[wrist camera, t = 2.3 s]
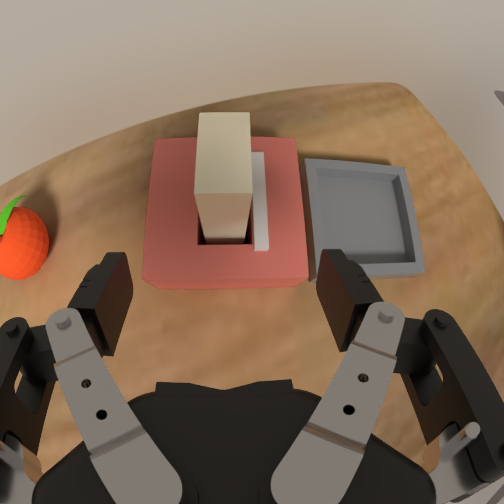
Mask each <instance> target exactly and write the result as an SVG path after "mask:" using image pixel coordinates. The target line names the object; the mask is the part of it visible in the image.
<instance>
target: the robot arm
mask: <svg viewBox="0 0 504 504" xmlns="http://www.w3.org/2000/svg"><path fill="white" fill-rule="evenodd" d="M316 290H317V295H318V297H319V300H320V302H321V305H322V308H323V310H324V313H325V315H326V318H327V320H328V323H329V325H330V328H331V331H332V333H333V336H334V338H335V341H336V344H337V346H338V349H339V352H344V351H347V352H346V354H345V356H344V358H343V360H342V362H341V364H340V366H339V368H338V369H337V371H336V373H335V375H334V377H333V379H332V381H331V383H330V384H329V386H328V388H327V390H326V392H325V394H324V395H323V397H320V396H318V395H316V394H313V393H311V392H308V391H304V390H300V389H293V384H292V380H291V379H287V380H275V381H259V382H255V383H251V384H247V385H244V386H240V387H236V388H232V389H227V390H219V389H214V388H209V387H205V386H200V385H196V384H191V383H171V382H156V389H155V392H150V393H146V394H143V395H141V396H138V397H136V398H134V399H132V400H130V401H129V402H126V400H125V399H124V397H123V395H122V394H121V392H120V390H119V389H118V387H117V385H116V384H115V382H114V380H113V378H112V376H111V375H110V373H109V371H108V369H107V367H106V366H105V364H104V362H103V360H102V357H103V356H114V352H115V349H116V346H117V342H118V339H119V336H120V333H121V330H122V327H123V324H124V321H125V318H126V315H127V312H128V309H129V306H130V303H131V300H132V297H133V283H132V279H131V274H130V270H129V265H128V260H127V256H126V254H125V253H124V252H108V253H106V255H105V256H104V258H103V260H102V262H101V263H100V264H96V265H95V266H94V267H93V268H91V269H90V270H89V271H88V272H87V274H86V275H85V277H84V279H83V281H82V282H81V284H80V285H79V288H78V289H77V291H76V292H75V294H74V296H73V298H72V299H71V301H70V303H69V305H68V307H67V308H64V309H60V310H58V311H56V312H54V313H53V314H52V315H51V316H50V317H49V318H48V320H47V322H46V325H41V326H36V327H31V328H30V327H29V325H28V323H27V321H26V320H25V319H24V318H22V317H15V318H12V319H10V320H8V321H6V322H5V323H4V324H3V325H2V326H1V328H0V504H445V503H447V502H449V501H450V502H454V503H455V502H460V501H462V500H464V499H466V498H468V497H470V496H472V495H473V494H475V493H477V492H479V491H480V490H482V489H484V488H486V487H487V486H489V485H491V484H492V483H494V482H495V481H497V480H498V479H500V478H501V477H503V476H504V403H503V401H502V399H501V397H500V395H499V393H498V391H497V389H496V387H495V385H494V384H493V382H492V380H491V378H490V376H489V375H488V373H487V371H486V369H485V368H484V366H483V364H482V362H481V361H480V359H479V357H478V356H477V354H476V352H475V351H474V349H473V348H472V346H471V344H470V343H469V341H468V340H467V338H466V336H465V335H464V333H463V332H462V330H461V329H460V327H459V326H458V324H457V323H456V321H455V320H454V318H453V317H452V316H451V315H449V314H448V313H446V312H444V311H442V310H438V309H432V310H429V311H427V312H426V314H425V316H424V318H423V320H420V319H413V318H406V317H405V316H404V314H403V312H402V311H401V310H400V309H399V308H398V307H397V306H395V305H393V304H391V303H387V302H384V301H383V299H382V298H381V296H380V295H379V293H378V291H377V290H376V288H375V287H374V285H373V284H372V282H371V281H370V279H369V277H368V276H367V274H366V273H365V271H364V270H363V268H362V267H361V266H360V265H358V264H357V263H356V262H354V261H353V260H348V259H347V257H346V256H345V254H344V253H343V251H342V250H341V249H323V250H322V252H321V256H320V263H319V268H318V274H317V280H316ZM436 364H437V365H438V367H439V369H440V371H441V373H442V375H443V382H442V380H441V378H440V376H439V374H438V372H437V370H436V368H435V365H436ZM19 370H20V371H21V373H22V374H23V375H22V378H21V381H20V383H19V386H18V389H17V392H16V394H15V390H14V384H15V381H16V378H17V375H18V373H19ZM393 373H400V374H401V377H402V379H403V382H404V384H405V387H406V389H407V392H408V394H409V397H410V399H411V402H412V405H413V407H414V410H415V413H416V415H417V418H418V421H419V423H420V426H421V429H422V432H423V435H424V438H425V441H426V443H427V447H426V448H425V450H424V453H423V464H422V467H421V466H419V465H418V464H416V463H415V462H413V461H412V460H410V459H409V458H407V457H406V456H404V455H403V454H401V453H400V452H398V451H397V450H395V449H394V448H392V447H391V446H389V445H388V444H386V443H385V442H383V441H382V440H380V439H379V438H378V437H376V436H375V435H373V434H372V433H371V432H372V429H373V427H374V424H375V422H376V419H377V417H378V414H379V412H380V409H381V406H382V403H383V401H384V398H385V395H386V392H387V389H388V386H389V383H390V380H391V377H392V374H393ZM58 380H59V383H60V386H61V389H62V391H63V394H64V396H65V399H66V402H67V404H68V407H69V409H70V411H71V414H72V416H73V418H74V421H75V423H76V425H77V427H78V430H79V432H80V434H81V436H82V438H83V441H82V442H81V443H80V444H79V445H78V446H76V447H75V448H74V449H73V450H72V451H71V452H69V453H68V454H67V455H66V456H65V457H64V458H62V459H61V460H60V461H59V462H58V463H56V464H55V465H54V466H53V467H52V468H51V469H49V470H48V471H47V472H46V473H45V474H44V475H43V473H42V472H41V464H40V461H39V459H38V458H37V452H38V447H39V442H40V438H41V433H42V429H43V425H44V421H45V417H46V413H47V409H48V406H49V402H50V399H51V395H52V392H53V388H54V385H55V382H56V381H58Z"/></svg>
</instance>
